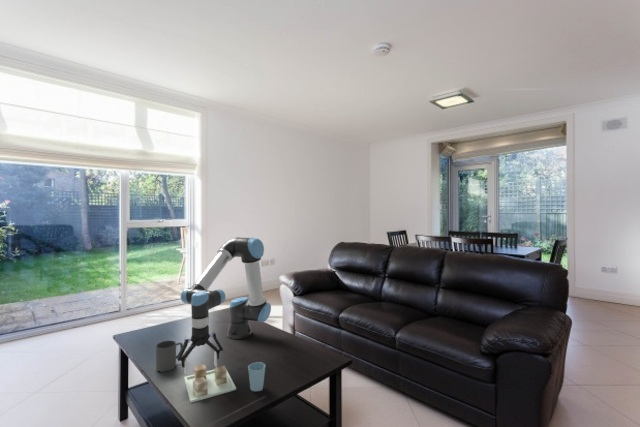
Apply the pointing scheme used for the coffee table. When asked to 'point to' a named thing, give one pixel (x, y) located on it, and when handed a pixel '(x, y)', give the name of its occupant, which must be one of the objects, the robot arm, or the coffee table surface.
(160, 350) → the mug
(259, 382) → the cup
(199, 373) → the oak block
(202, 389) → the maple block
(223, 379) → the beech block
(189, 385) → the tray
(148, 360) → the coffee table surface
